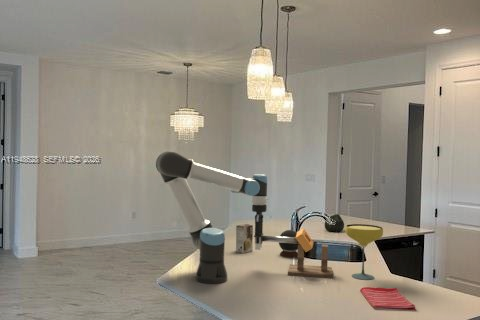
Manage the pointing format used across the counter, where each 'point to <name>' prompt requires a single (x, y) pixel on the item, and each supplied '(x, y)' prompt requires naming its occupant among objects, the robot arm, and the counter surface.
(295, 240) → the shaft
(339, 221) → the squash
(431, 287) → the counter surface
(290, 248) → the black stacked round piece
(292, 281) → the counter surface
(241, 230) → the coffee box
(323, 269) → the stand
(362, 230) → the cocktail glass
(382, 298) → the dish towel
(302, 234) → the collar
